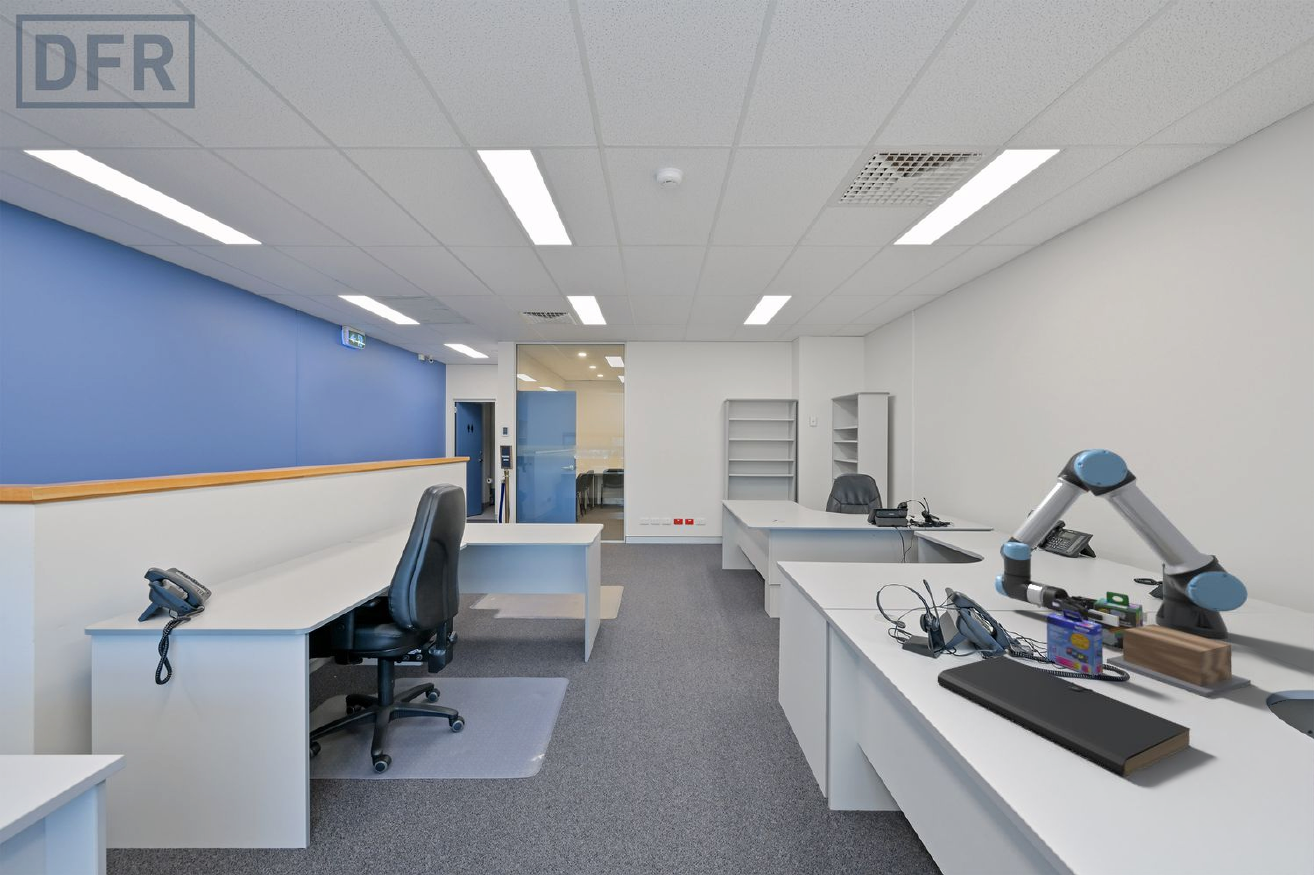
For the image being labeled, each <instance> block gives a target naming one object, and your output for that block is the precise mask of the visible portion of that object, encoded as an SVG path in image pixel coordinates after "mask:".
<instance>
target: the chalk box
mask: <svg viewBox="0 0 1314 875" xmlns="http://www.w3.org/2000/svg"><path fill="white" fill-rule="evenodd" d="M1105 594H1106V598H1103V597H1102V598H1100V599H1096V600H1097V602H1095V603H1094V610H1095V611H1099V612H1102V613H1106V614H1110V615H1114V616H1117V617H1119V627H1116V626H1113V625H1109V624H1106V623H1102V622H1099V621H1095V620H1093V622H1094V623H1097V624H1101V625H1102V644H1105V645H1109V646H1112V647H1116V648H1121V649H1123V630H1125V629H1131V628H1136V627H1142V626H1144V621H1143V612H1142V611H1143V605H1142V604H1138V603H1132V602H1130V599H1129V595H1128V594H1124V593H1119V592H1113V591H1106V593H1105ZM1114 597H1117V598H1121V599H1122V600H1116V599H1114Z"/></svg>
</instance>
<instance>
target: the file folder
mask: <svg viewBox="0 0 1314 875" xmlns="http://www.w3.org/2000/svg"><path fill="white" fill-rule="evenodd" d="M937 683H938V684H939V685H940V686H942V687H944V688H946V689H948V690H950V691H952V692H954V693H956V694H958V695H959V696H962V697H964V698H966V699H968V700H970V701H972V702H974V703H976V704H978V705H979V706H983V708H986V709H988V710H990V711H992V712H994V713H996V714H997V715H1000V716H1002V717H1004V718H1006V719H1008V720H1010V721H1011V722H1013V723H1016V724H1018V725H1020V726H1022V727H1024V728H1025V729H1028V730H1029V731H1032V732H1034V733H1036V734H1038V735H1039V736H1042V737H1044V738H1046V739H1048V740H1050V741H1052V742H1054V743H1056V744H1057V745H1060V746H1062V747H1064V748H1065V749H1068V750H1070V751H1072V752H1074V753H1075V754H1078V755H1079V756H1082V757H1083V758H1086V759H1087V760H1090V761H1092V763H1093V762H1094V763H1096V764H1097V765H1099V766H1102V767H1103V768H1106V769H1107V770H1109V771H1111V772H1112V773H1113V772H1114V773H1115V774H1117V775H1119V776H1122V777H1124V778H1125V776H1128V775H1130V774H1133V773H1135V772H1138V771H1139V770H1141V769H1144V768H1146V767H1148V766H1150V765H1152V764H1155V763H1157V762H1159V761H1161V760H1162V759H1165V758H1167V757H1170V756H1171V755H1173V754H1175V753H1178V752H1180V751H1182V750H1184V749H1186V748H1188V747H1190V746H1191V745H1190V743H1191V742H1190V739H1191V738H1190V737H1191V736H1190V735H1191V734H1190V732H1191V728H1189V727H1187V726H1184V725H1183V724H1179V723H1176V722H1174V721H1172V720H1169V719H1167V718H1164V717H1161V716H1159V715H1156V714H1154V713H1151V712H1148V711H1146V710H1143V709H1141V708H1138V707H1136V706H1133V705H1131V704H1127V703H1125V702H1122V701H1120V700H1118V699H1115V698H1113V697H1110V696H1107V695H1105V694H1102V693H1100V692H1098V691H1094V689H1091V688H1087V687H1084V686H1082V685H1079V684H1077V683H1075V682H1071V681H1069V680H1066V679H1064V678H1060V677H1059V676H1056V675H1053V674H1051V673H1050V672H1049V673H1048V672H1045V671H1043V670H1041V669H1037V668H1035V667H1032V666H1031V665H1027V664H1025V663H1022V662H1020V661H1018V660H1015V659H1012V658H1010V657H1007V656H1005V655H1000V656H996V657H990V658H989V657H988V658H986V659H982V660H978V661H974V662H970V663H967V664H963V665H959V666H955V667H950V668H947V669H943V670H942V671H941V672H939V674H938V675H937Z"/></svg>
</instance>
